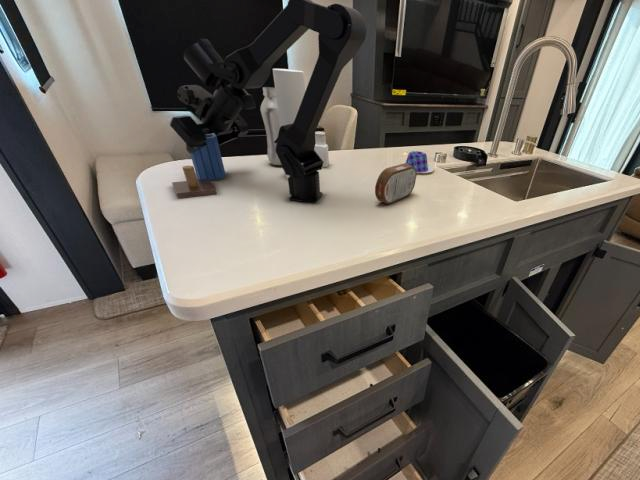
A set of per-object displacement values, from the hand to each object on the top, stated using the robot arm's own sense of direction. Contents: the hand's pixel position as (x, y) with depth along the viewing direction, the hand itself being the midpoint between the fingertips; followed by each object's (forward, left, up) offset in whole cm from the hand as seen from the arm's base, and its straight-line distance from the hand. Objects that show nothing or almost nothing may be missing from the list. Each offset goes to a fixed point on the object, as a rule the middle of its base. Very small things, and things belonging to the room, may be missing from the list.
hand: (200, 148), depth 83 cm
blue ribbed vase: (-1, 0, -7) cm, 7 cm away
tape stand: (-3, +11, -7) cm, 14 cm away
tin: (-51, +1, -7) cm, 52 cm away
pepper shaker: (-25, -21, -7) cm, 33 cm away
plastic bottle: (-13, -17, -7) cm, 22 cm away
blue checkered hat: (-55, -29, -7) cm, 63 cm away
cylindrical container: (-22, -8, -7) cm, 25 cm away
